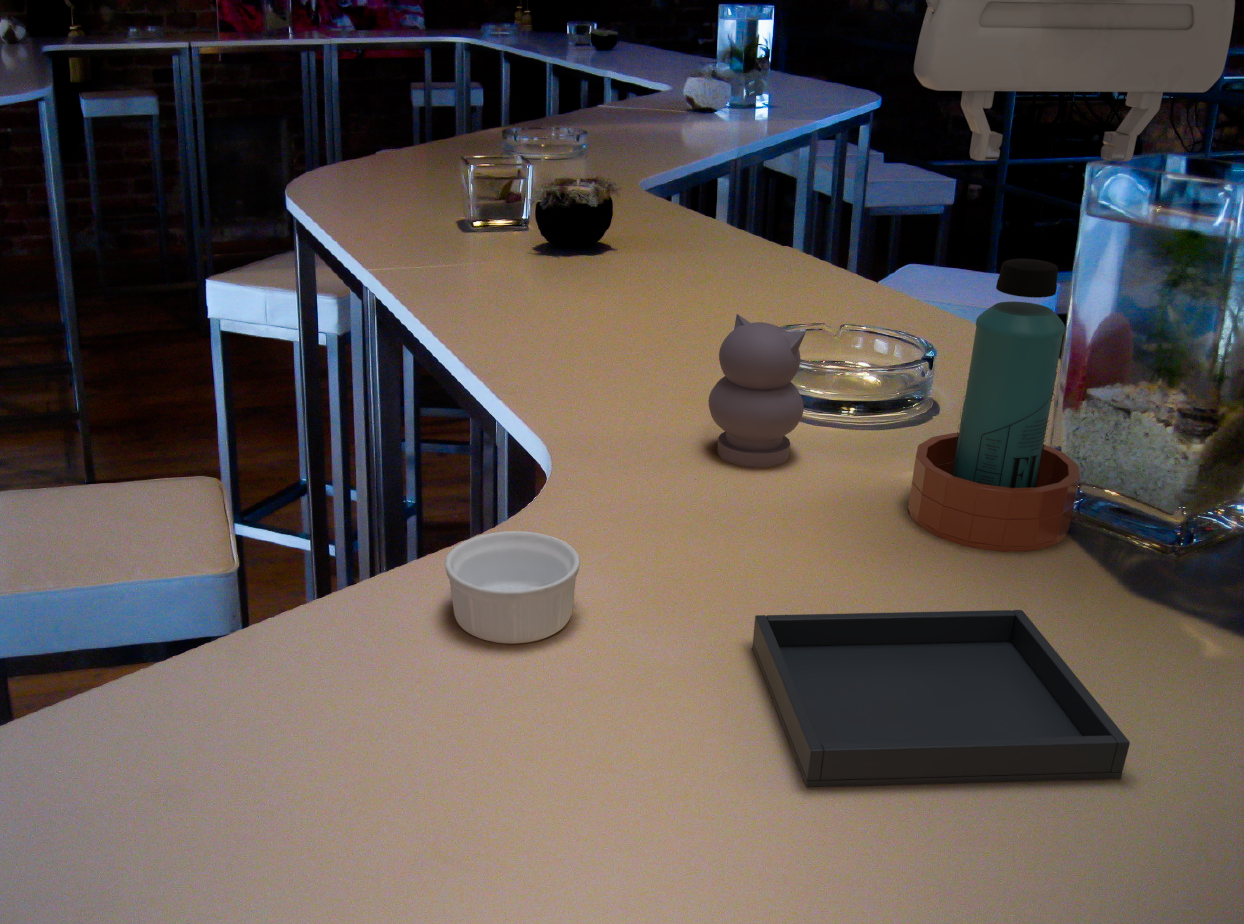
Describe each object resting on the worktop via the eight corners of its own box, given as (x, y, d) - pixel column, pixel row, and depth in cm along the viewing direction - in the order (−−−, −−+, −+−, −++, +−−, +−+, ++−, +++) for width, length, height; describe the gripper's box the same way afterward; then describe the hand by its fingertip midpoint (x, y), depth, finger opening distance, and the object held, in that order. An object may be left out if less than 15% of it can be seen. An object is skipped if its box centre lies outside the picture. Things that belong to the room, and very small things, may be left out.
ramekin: (476, 662, 76) (475, 602, 74) (428, 600, 84) (425, 544, 82) (601, 632, 80) (603, 574, 78) (544, 575, 87) (545, 520, 85)
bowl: (1029, 486, 102) (1039, 431, 100) (1094, 551, 91) (1107, 490, 89) (889, 488, 101) (896, 433, 99) (938, 553, 91) (947, 492, 88)
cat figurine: (686, 450, 109) (693, 320, 104) (744, 430, 113) (754, 304, 108) (759, 480, 103) (771, 343, 98) (817, 457, 108) (831, 325, 102)
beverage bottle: (1003, 538, 92) (1052, 277, 83) (927, 510, 96) (966, 260, 88) (1047, 514, 96) (1098, 263, 87) (972, 488, 100) (1013, 247, 92)
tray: (1015, 642, 79) (1022, 609, 78) (1121, 780, 66) (1130, 742, 65) (751, 648, 78) (755, 614, 77) (806, 789, 65) (810, 750, 64)
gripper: (949, -63, 75) (918, 166, 81) (1268, -59, 76) (1213, 167, 82) (916, -63, 81) (889, 151, 87) (1213, -59, 82) (1166, 152, 88)
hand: (1049, 159), depth 85 cm, fingers open, 8 cm apart
